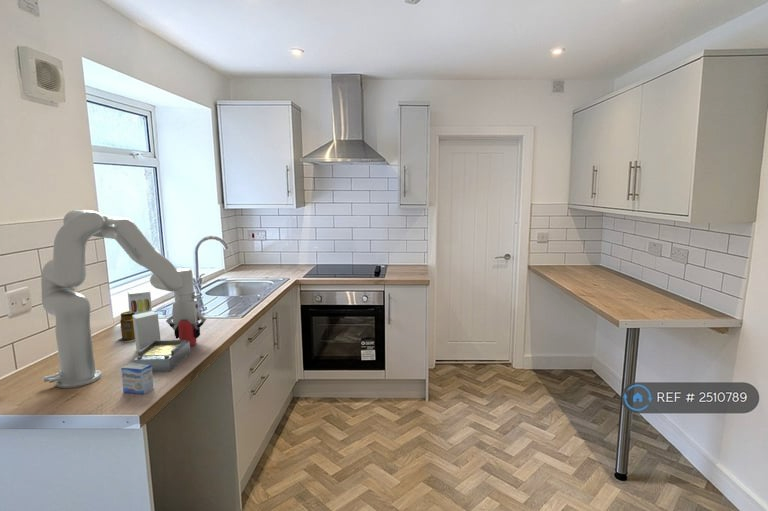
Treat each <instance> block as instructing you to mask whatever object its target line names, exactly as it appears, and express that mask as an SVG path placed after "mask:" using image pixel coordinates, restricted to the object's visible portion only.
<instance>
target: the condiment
mask: <svg viewBox="0 0 768 511" xmlns="http://www.w3.org/2000/svg"><path fill="white" fill-rule="evenodd" d="M132 315H135V313H134V312H133V311H129V310H128V311H124V312H122V313H120V319H119V320H120V321H119V322H120V323H119V324H120V330H121V331H120V332H121V338H119V339H117V340H116V341H114V342H115V343H132V342H135V333H134V325H133V317H132Z"/></svg>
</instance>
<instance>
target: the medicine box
mask: <svg viewBox="0 0 768 511" xmlns="http://www.w3.org/2000/svg"><path fill="white" fill-rule="evenodd" d="M120 369H121V370H120V371H121V379H122V381H121V382H122V391H123V394H124V393H125V394H138V395H145V394H147V393H148V392H150V391H152V390H153V389H154V377H153V372H152V365H148V364H136V363H134V362H130V363H128V364H126V365H124V366H122V367H121V368H120Z"/></svg>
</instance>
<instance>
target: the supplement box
mask: <svg viewBox="0 0 768 511" xmlns="http://www.w3.org/2000/svg"><path fill="white" fill-rule="evenodd" d="M151 297H152V296H151V291H150V289H149V288H140V289H131V290H127V298H128V299H127V300H128V311H133V312H134V313H135V315H136V314H141V313H146V312H150V311H153V309H152V298H151Z"/></svg>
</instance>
